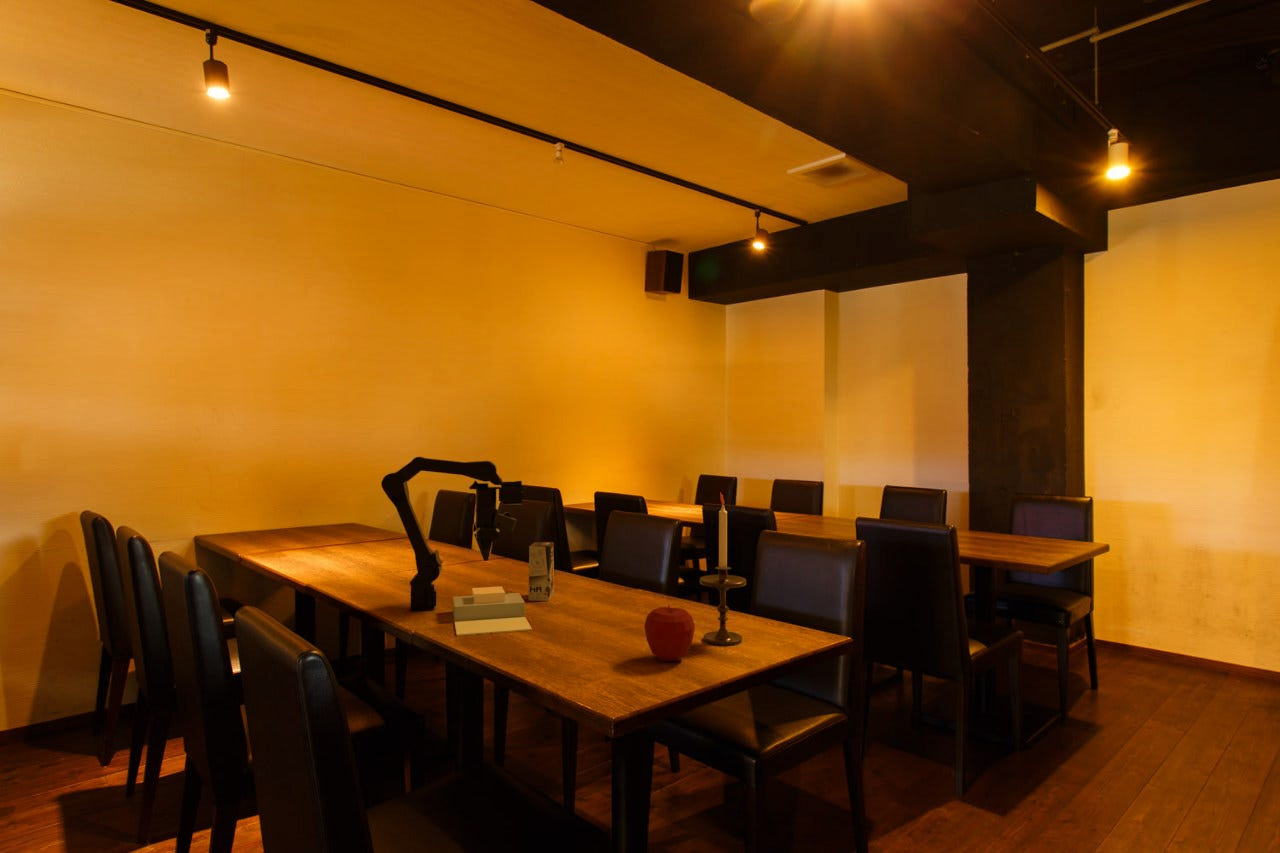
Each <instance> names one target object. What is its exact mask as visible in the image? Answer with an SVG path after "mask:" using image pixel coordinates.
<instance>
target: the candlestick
mask: <svg viewBox="0 0 1280 853" xmlns="http://www.w3.org/2000/svg"><path fill="white" fill-rule="evenodd" d="M719 495H720V498H719V499H720V502H721V509H720V510H719V511H718V566H715V567H714V569H716V570H718V574H708V575H703V576H701V577H699V584H700V585H701V586H704V587H708V588H715V589H717V590H718V591H719V605H718V606H717V607H716V610H717V612H718V613H719V616H718V617H717V621H719V628H718V630H715V631H709V632H705V634H703V642H705V643H706V644H710V645H713V646H720V647H731V646H738V645H739V644H742V643H743V637H742V635H740V634H739V633H736V632H733V631H728V630H727V628H726V626H727V625H726V624H727V623H726V622H727V621H728V620H729V617H727V613H728V612H729V609H730V608H729V606H727V605H726V604H727V599H726V598H727V595H726V592H727V591H728V590H730V589H737V588H743V587H745V586H746V585H747V579H746V578H745V577H742V576H739V575H732V574H728V570H732V567H730V566H728V511H727V510H726V509H725V500H724V495H723V494H722V492H720V493H719Z"/></svg>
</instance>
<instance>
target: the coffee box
mask: <svg viewBox="0 0 1280 853" xmlns="http://www.w3.org/2000/svg"><path fill="white" fill-rule="evenodd" d="M528 548H529V549H528V552H529V553H528V555H529V556H528V601H531V602H535V601H536V602H539V601H542V602H550V601H551V599H552V597H553V596H554V589H555V588H554V583H555V582H554V581H555V576H554V572H555V571H554V568H555V564H554V563H555V559H554V558H555V557H554V556H555V554H554V552H555V549H554V548H555V542H554V541H540V542H538V541H536V542H533V543H531V544H530V545H529V547H528Z"/></svg>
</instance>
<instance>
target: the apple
mask: <svg viewBox="0 0 1280 853" xmlns="http://www.w3.org/2000/svg"><path fill="white" fill-rule="evenodd" d="M645 619H646V620H645V623H644V631H645V632H644V633H645V637H646V641H647V644H648V647H649V649H650V651H651V652H650V653H651V654H652V655H653V656H655V657H656V658H657V659H658V660H660V661H662V662H675V661H678V660H680V659H682V658H683V657H685V655H687V654H688V652H689V649H690V648H691V645H692V642H694V641H693V640H694V635H695V630H696V629H695V628H696V626H695V623H694V620H693V617H692V615H691V613H689V612H688V611H687V610H685V609H684V608H680V607H670V605H667V606H660V607H657V608H656V607H655V608H654V609H652V610H651V611H650V612H648V614H647V615H646V617H645Z"/></svg>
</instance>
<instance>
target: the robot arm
mask: <svg viewBox="0 0 1280 853" xmlns="http://www.w3.org/2000/svg"><path fill="white" fill-rule="evenodd" d="M497 469H498V468H497V466H496V464H495V463H494V462H492V461H490V460H476V461H456V460H448V459H437V458H427V457H423V456H416V457H414V458H413V459H412V460H411V461H410V462H408V463H407V464H406V465H404V466H403V467H402V468H400V469H399V470H397V471H395V472H390V473H388V474H386V475H384V477H383V478H382V480H381V484H380V485H381V488H382V490H383V492H384V493H385V495H386V496H387V499H389V501H390V502H391V503H392V505H394V507H395V509H396V510H397V514H398V515H399V519H400V521H401V524H402V525H403V528H404V530H405V533H406V536H407V537H408V540H409V542H410V545H411V547H412V550H413V552H414V556H415V558H414V559H415V566H416V571H417V573H415V575H414V576H413V577H412V578H411V580H410V581H409V584H410V585H409V586H410V604H409V612H418V611H433V610H436V609H435V607H436V606H437V589H435V583H433V582H435V581H436V580H437V579H439V577H440V575H441V572H442V568H443V566H442V564H443V562H444V561H443V560H442V559H441V557H440V554H439V550H438V549H436V550H434V551H433V550H432V549H431V547H430V546H429V544H428V542H427V540H426V536H425V534H424V531H423V530H422V527H421V525H420V522H419V520H418V517H417V515H416V512H415V510H414V508H413V504H412V503H411V498H410V490H409V486H408V482H409V481H410V480H411V479H413V478H414V477H415V476H417V474H419V473H420V472H428V473H429V472H430V473H439V474H440V473H441V474H448V475H457V476H458V475H459V476H465V477H467V478H471V479H474V481H473V483H472V484H471V485H470V486H469V487H468V488H469V490H475V508H474V511H475V521H474V522H473V524H472V532H474V534H473V535H474V539H475V541H476V544H477V546H478V549H479V551H480V554H481V557H482V559H483V562H488V561H489V557H490V553H491V549H492V545H493V543H494V542H495V541H496V540H497V539H501V530H500V529H499V527H503V528H505V529H508V530H509V531H514V529H515V527H516V524H517V519H516V518H514V517H512V514H511V513H510V512H508V511H505V512H503V514H502V513H499V510H498V508H497V490H498V502H501V503H502V505H503V506H504V505H505V506H506V505H507V506H509V505H513V506H515V505H517V506H518V505H523V495H524V494H523V493H524V492H523V487H522V486H523V485H522V484H523V482H522V480H516V481H514V480H513V481H503V478H502V477H500V476H499V474H498V473H497V472H498V471H497ZM478 481H482V482H478ZM486 482H487V483H486ZM488 482H490V483H491V484H492V485H493V486H489V483H488ZM475 532H476V533H475Z"/></svg>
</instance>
